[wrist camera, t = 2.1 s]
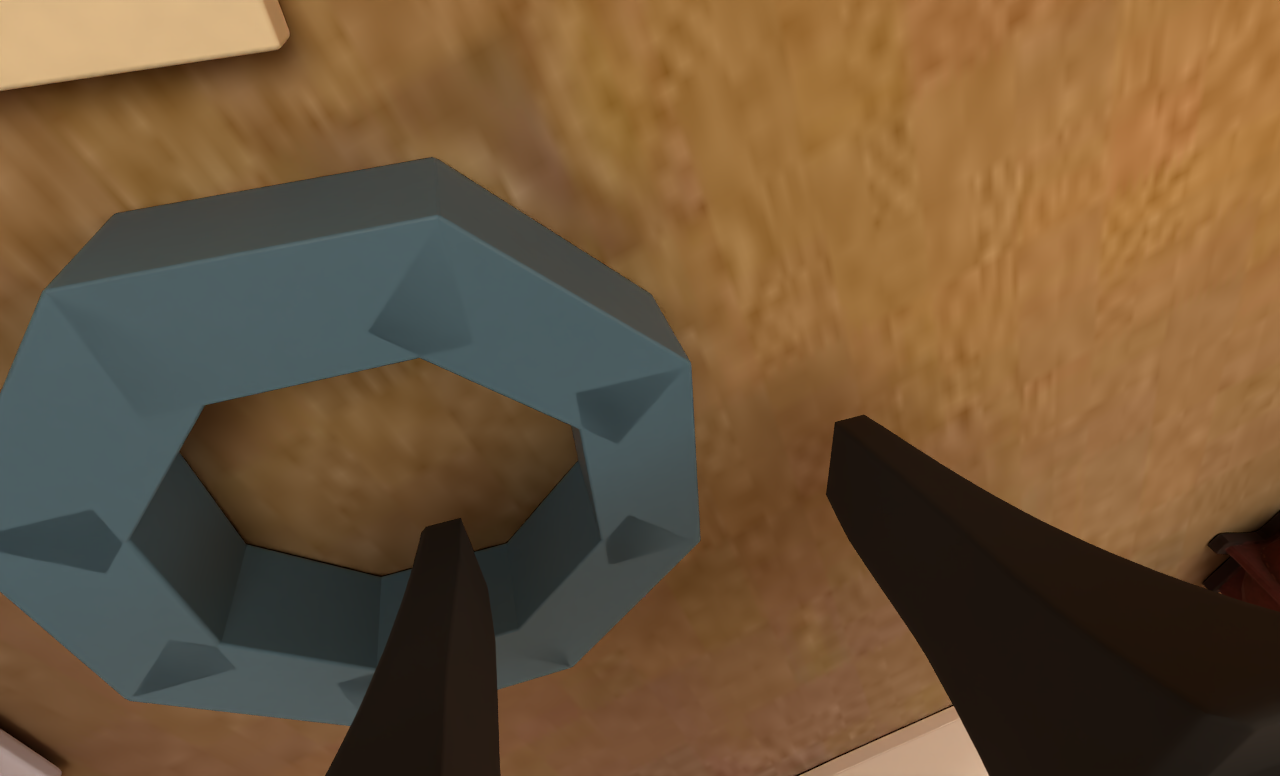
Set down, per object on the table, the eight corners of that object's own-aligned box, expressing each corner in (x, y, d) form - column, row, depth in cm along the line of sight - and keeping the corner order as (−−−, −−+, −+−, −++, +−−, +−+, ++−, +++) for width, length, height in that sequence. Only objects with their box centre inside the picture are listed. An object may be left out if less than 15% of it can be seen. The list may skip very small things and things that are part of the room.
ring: (236, 673, 17) (212, 776, 15) (-142, 257, 10) (-284, 352, 8) (675, 550, 19) (706, 628, 17) (636, 119, 12) (681, 169, 10)
